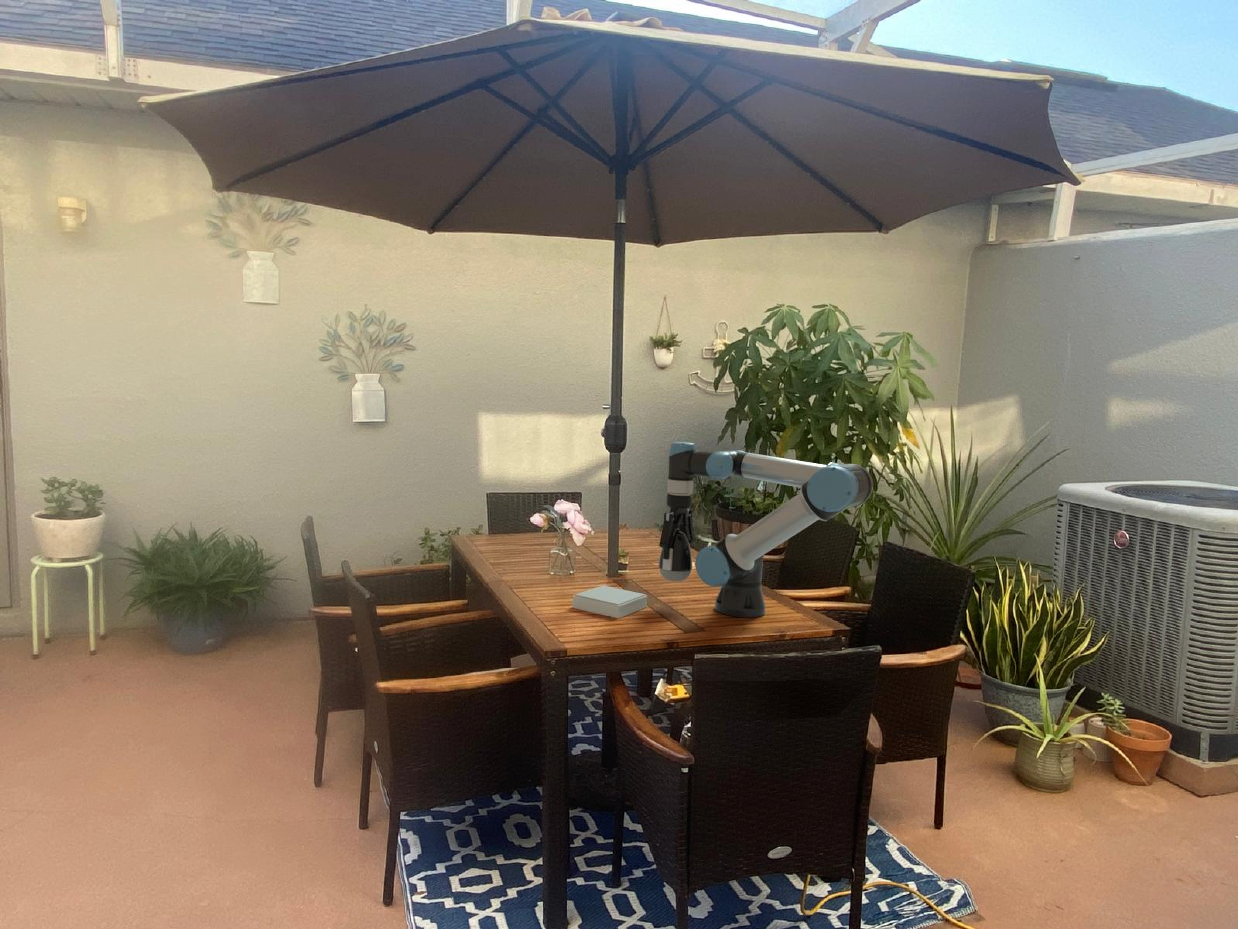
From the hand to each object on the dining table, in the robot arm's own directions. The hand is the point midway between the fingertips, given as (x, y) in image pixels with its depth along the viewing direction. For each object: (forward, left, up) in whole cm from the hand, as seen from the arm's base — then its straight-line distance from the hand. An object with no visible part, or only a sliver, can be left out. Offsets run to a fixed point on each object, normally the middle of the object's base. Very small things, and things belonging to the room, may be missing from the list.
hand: (675, 566), depth 250 cm
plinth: (+14, +13, -13) cm, 23 cm away
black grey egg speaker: (0, 0, -4) cm, 4 cm away
